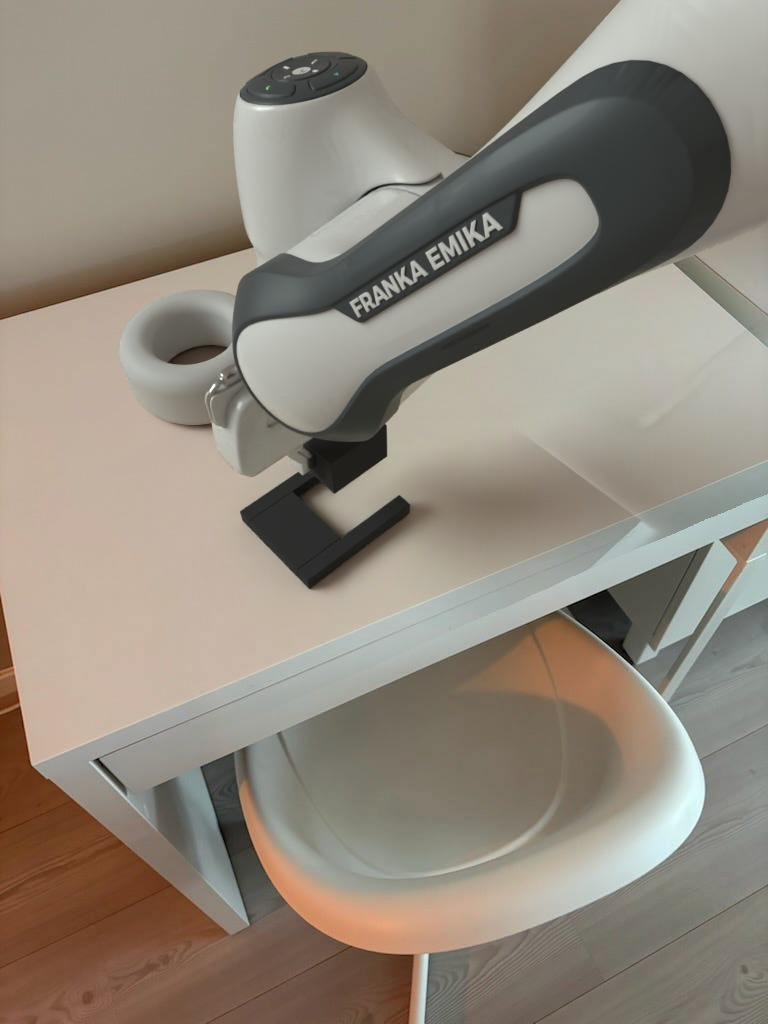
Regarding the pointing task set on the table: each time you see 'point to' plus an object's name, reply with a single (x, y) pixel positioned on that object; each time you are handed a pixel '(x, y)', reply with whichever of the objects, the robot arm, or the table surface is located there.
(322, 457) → the black block
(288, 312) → the robot arm
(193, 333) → the thick torus
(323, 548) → the base pad
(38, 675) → the table surface
